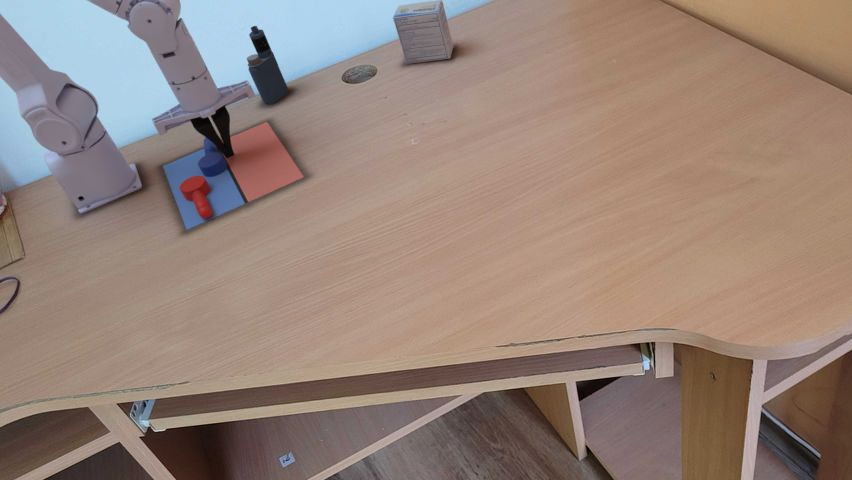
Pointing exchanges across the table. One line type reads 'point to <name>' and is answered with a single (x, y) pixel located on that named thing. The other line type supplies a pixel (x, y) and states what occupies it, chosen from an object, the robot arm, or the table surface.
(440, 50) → the medicine box
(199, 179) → the red spoon
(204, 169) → the blue spoon
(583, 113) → the table surface
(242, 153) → the sorting mat
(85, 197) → the robot arm
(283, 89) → the vaping device
